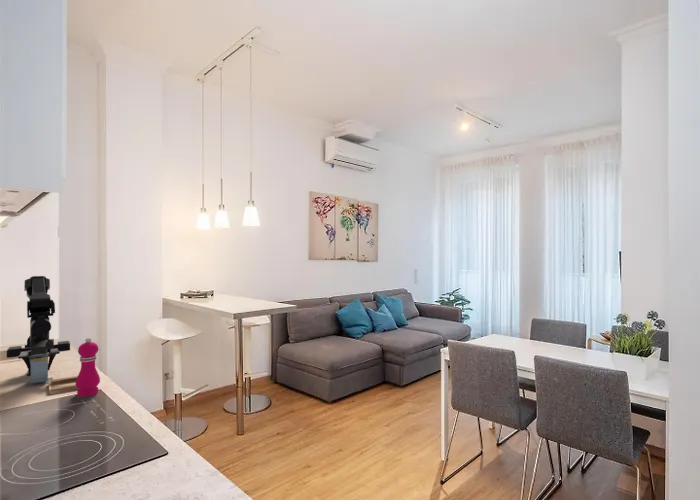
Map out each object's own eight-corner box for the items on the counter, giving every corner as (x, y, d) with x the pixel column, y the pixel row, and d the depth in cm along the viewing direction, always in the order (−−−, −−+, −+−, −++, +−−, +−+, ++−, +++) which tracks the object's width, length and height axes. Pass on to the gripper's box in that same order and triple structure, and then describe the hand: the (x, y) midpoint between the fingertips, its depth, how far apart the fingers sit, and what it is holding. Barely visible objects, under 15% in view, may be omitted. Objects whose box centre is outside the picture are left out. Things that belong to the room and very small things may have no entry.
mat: (26, 382, 150) (26, 381, 150) (52, 378, 155) (52, 377, 155) (25, 388, 144) (25, 387, 144) (52, 384, 148) (52, 383, 148)
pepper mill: (104, 392, 141) (105, 337, 141) (83, 399, 135) (84, 341, 134) (91, 389, 144) (92, 334, 144) (70, 395, 138) (71, 338, 137)
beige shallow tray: (49, 385, 147) (49, 380, 147) (81, 380, 153) (81, 375, 153) (49, 395, 137) (49, 389, 137) (83, 389, 144) (83, 384, 143)
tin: (31, 378, 151) (31, 354, 150) (48, 375, 154) (48, 352, 153) (30, 383, 145) (30, 359, 145) (47, 380, 148) (48, 357, 148)
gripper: (5, 337, 137) (4, 382, 137) (70, 331, 148) (70, 372, 148) (8, 331, 146) (7, 373, 146) (69, 326, 157) (69, 365, 157)
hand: (39, 371), depth 149 cm, fingers closed on tin, 5 cm apart
